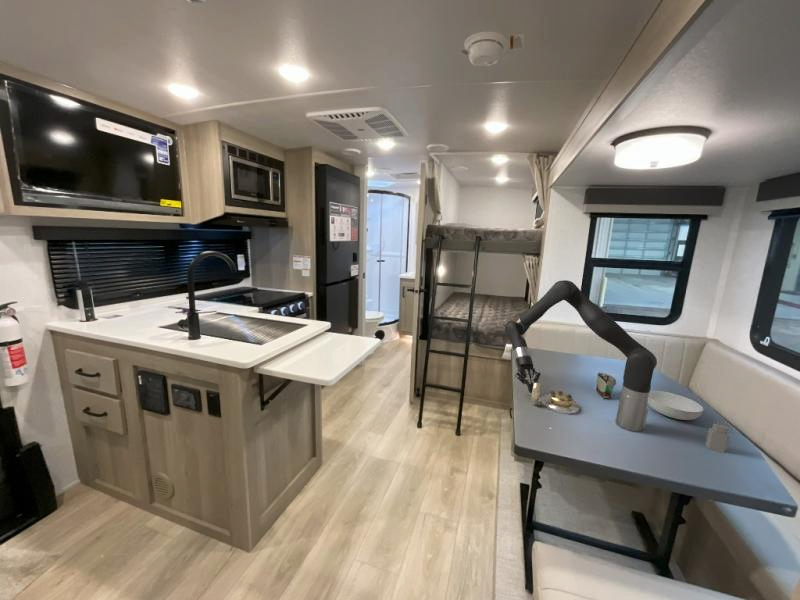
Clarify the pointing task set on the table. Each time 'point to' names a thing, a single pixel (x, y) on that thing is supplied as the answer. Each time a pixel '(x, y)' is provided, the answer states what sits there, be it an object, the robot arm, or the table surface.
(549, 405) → the plate
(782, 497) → the table surface
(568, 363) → the table surface
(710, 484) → the table surface
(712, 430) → the power adapter
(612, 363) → the table surface
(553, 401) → the crank handle
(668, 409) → the serving bowl
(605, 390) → the food container
